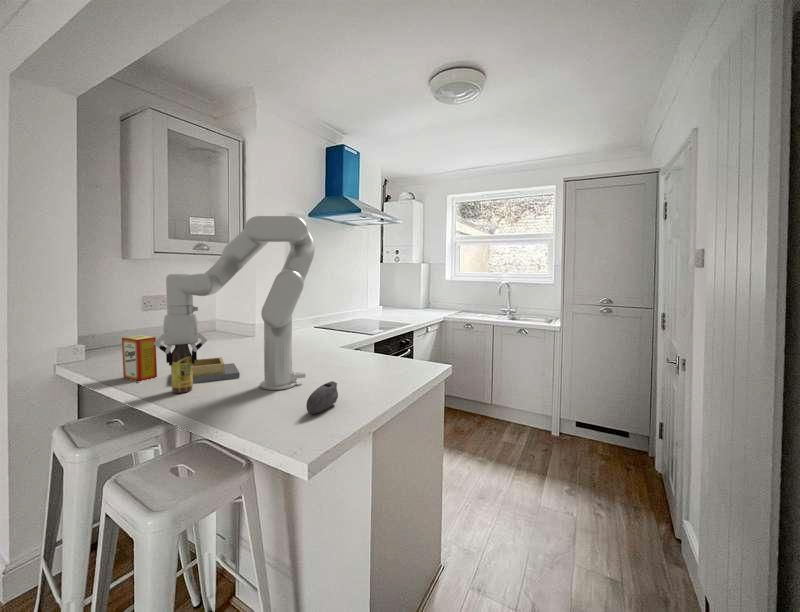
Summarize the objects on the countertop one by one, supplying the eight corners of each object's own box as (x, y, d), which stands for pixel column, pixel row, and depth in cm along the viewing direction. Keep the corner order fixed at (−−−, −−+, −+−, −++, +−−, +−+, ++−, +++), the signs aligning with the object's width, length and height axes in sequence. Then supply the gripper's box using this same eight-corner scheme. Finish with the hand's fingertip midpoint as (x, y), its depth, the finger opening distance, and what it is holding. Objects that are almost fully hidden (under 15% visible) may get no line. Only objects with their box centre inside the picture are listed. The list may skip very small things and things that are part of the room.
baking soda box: (157, 377, 144) (155, 336, 143) (139, 381, 138) (137, 338, 137) (141, 374, 148) (139, 334, 147) (123, 378, 142) (121, 336, 141)
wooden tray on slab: (234, 367, 160) (233, 355, 160) (239, 377, 145) (239, 363, 144) (174, 373, 149) (173, 360, 149) (173, 385, 134) (172, 370, 133)
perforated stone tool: (314, 419, 104) (314, 395, 103) (299, 416, 106) (299, 392, 105) (342, 403, 118) (342, 381, 117) (328, 400, 120) (328, 379, 119)
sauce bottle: (183, 394, 124) (180, 334, 122) (167, 393, 125) (164, 334, 123) (197, 388, 130) (195, 332, 128) (182, 387, 131) (179, 331, 130)
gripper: (208, 309, 133) (209, 359, 134) (150, 310, 124) (152, 364, 126) (209, 310, 126) (211, 363, 128) (148, 312, 118) (150, 369, 119)
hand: (181, 363), depth 127 cm, fingers closed on sauce bottle, 6 cm apart
